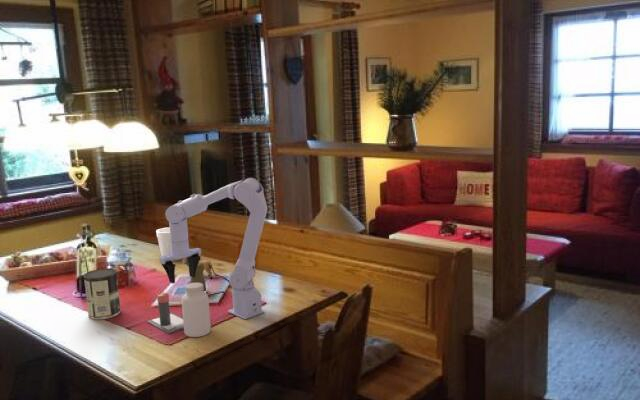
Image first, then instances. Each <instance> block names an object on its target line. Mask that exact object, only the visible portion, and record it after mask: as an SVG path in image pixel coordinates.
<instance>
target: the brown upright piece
mask: <svg viewBox="0 0 640 400" xmlns="http://www.w3.org/2000/svg"><path fill="white" fill-rule="evenodd" d="M204 271H205V268H204V265H203V264H202V263H198V265H197V269H196V273H195V277H194V278H193V277H190V283H202V284H203V292H204V291H206V289H207V286H206V281H205V276H204Z"/></svg>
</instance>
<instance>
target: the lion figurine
mask: <svg viewBox="0 0 640 400" xmlns="http://www.w3.org/2000/svg"><path fill="white" fill-rule="evenodd" d="M182 263H183V265H184V266H187V267H188V268H189V265H188V261H187V257H186V258H183V259H182ZM199 263H202V264H203V265H204V271H205V272H206V273H207V276H208V275H210V276H209V277H213V278H214V276H216V277H219V275H218V274H216V273H215V270H214V268H213V264H212V262H211V261H210V260H208V259H205V260H201V259H200V261H199ZM213 274H214V276H213Z"/></svg>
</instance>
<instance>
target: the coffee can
mask: <svg viewBox="0 0 640 400" xmlns="http://www.w3.org/2000/svg"><path fill="white" fill-rule="evenodd" d="M83 279H84V280H83V281H84V287H85V297H86V305H87V312H88V313H87V314H88V315H87V317H88V318H89V319H91V320H98V321H99V320H107V319H112V318H114V317H116V316H118V315H119V314H120V313H121V311H122V310H121V309H122V308H121V304H120V302H121V301H120V295H119V293H120V292H119V284H118V283H119V282H118V270H116V269H114V268H107V267H106V268H99V269H94V270H89V271H88V272H86V273H84V274H83Z"/></svg>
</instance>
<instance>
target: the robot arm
mask: <svg viewBox="0 0 640 400" xmlns="http://www.w3.org/2000/svg"><path fill="white" fill-rule="evenodd" d="M227 198H229V199H231V200H235V199H236V200H237V201H238V202H239V203H241V204H242V205H243V206H245V207H246V209H247V210H248V212H249V217H248V221H247V225H246V229H245V232H244V233H245V234H244V236H243V240H242V245H241V248H240V253H239V255H238V259H237V261H236V263H235V265H234V269H233V271H232V272H231V273H230V274H229V277H228V282H229V284H230V286H231V291H232V293H231V295H232V296H231V297H232V308H230V309H228V310H227V312H228V313H230V314H232V315H235V316H237V317H239V318H241V319H244V320H247V319H249V318H252V317H255V316H257V315H259V314H263V313H265V310H263V307H262V304H263V303H262V294H261V292H260V291H259V290H258V289H257V288H256V287H255V282H254V280H253V279H254V278H255V276H256V268H255V267H256V260H255V259H256V255H257V251H258V247H259V243H260V239H261V235H262V232H263V228H264V225H265V220H266V217H267V212H268V204H267V201H266V197H265V194H264V187H263V186H262V183H260V182H259V181H258V180H257V179H256V178H254V177H247V178H246V179H244V180H243V179H242V180H239V181H235V182H231V183H229V184H227V185H225V186H222V187H220V188H218V189H217V190H214V191H212V192H210V193H208V194H205V195H203V194H201V193H197V194H196V193H194V194H191V195H190V196H189V198H186V199H184V200H182V199H181V200H178V201H177V203H175V204H173V205H170V206H169V207H168V208H167V209H166V210H165V213H164V215H165V219H166V220H167V221H168V224H169V225H168V226H169V228H170V241H171V253H170V254H167V255H165V256H162V255H161V256H160V257H159V258H158V259H159V264H161V267H163V269H164V271H165V272H166V275H167V277H168V281H169V283H171V284H175V283H176V275H175V274H176V273H175V272H176V271H175V270H176V264H175V263H174V262H175V261H178V260H183V259H184V258H186V257H187V261H188V265H189V267H188V273H189V277H190V278H191V277H193V278H194V277H195V273H196V269H197V265H198V263H199V261H200V260H201V258H202V257H201V256H200V255H202V249H201V248H199V247H196V248H190V244H189V243H190V242H189V229H188V221H187V220H188V218H191V217H193V216H195V215H198V214H201V213H202V212H205V211H207V209H208V206H209V205H211V204H213V203H216V202H219V201H221V200H223V199H227Z"/></svg>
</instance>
